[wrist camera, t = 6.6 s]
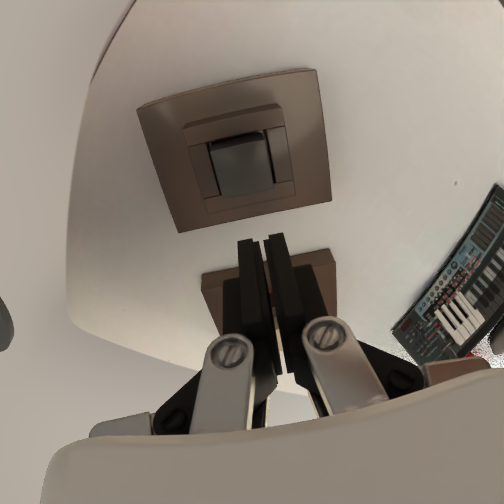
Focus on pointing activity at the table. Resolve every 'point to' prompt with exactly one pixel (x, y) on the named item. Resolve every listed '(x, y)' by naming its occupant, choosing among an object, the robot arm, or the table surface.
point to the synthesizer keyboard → (461, 294)
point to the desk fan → (498, 339)
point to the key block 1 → (233, 126)
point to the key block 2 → (321, 266)
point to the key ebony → (242, 165)
